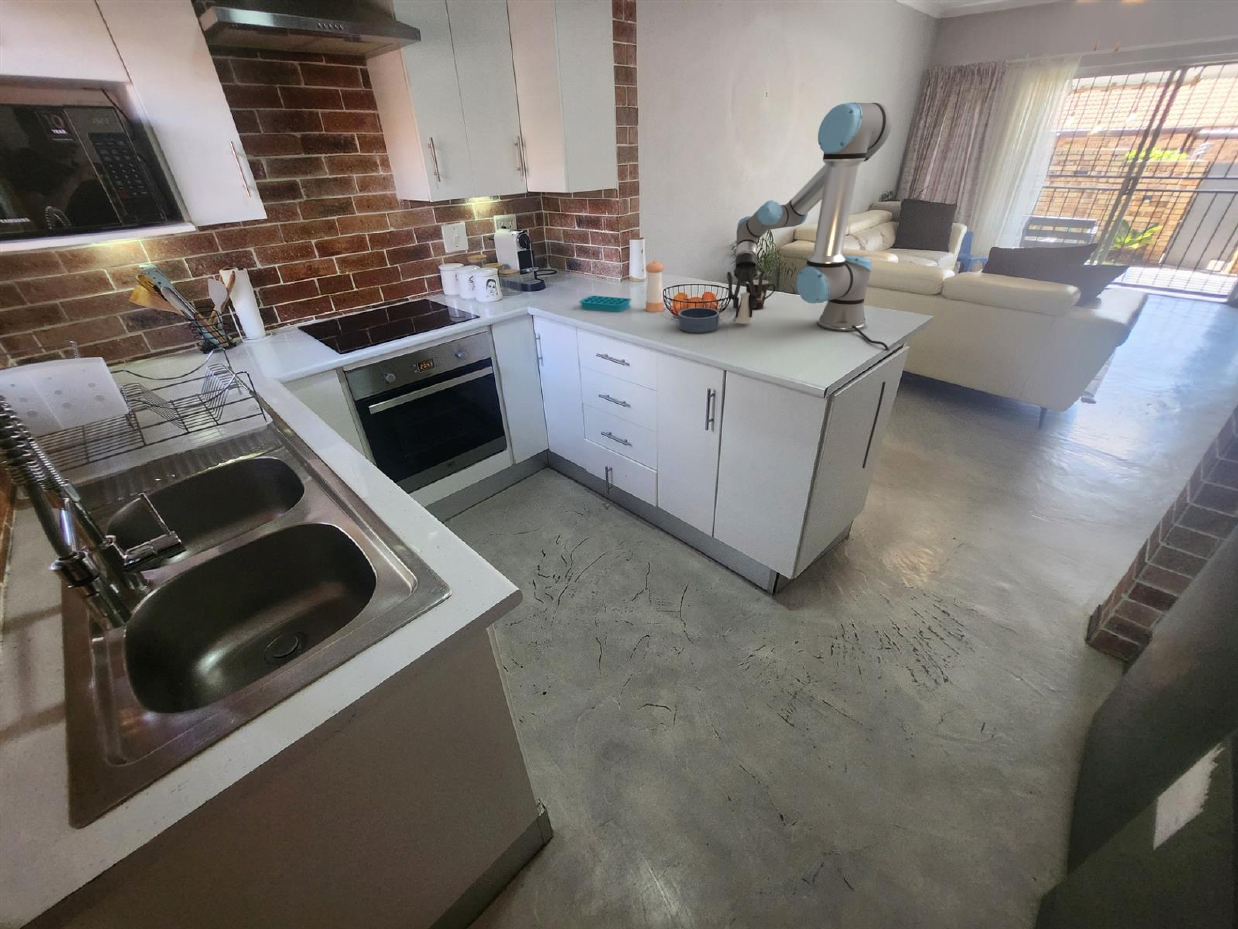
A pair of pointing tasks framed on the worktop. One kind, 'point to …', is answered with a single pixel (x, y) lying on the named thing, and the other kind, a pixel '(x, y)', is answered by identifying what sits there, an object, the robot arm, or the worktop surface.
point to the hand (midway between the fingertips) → (743, 315)
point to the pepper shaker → (654, 287)
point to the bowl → (698, 320)
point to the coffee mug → (764, 289)
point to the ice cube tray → (605, 303)
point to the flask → (743, 310)
